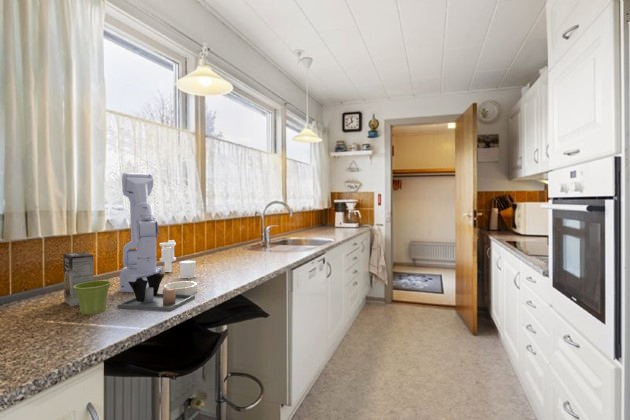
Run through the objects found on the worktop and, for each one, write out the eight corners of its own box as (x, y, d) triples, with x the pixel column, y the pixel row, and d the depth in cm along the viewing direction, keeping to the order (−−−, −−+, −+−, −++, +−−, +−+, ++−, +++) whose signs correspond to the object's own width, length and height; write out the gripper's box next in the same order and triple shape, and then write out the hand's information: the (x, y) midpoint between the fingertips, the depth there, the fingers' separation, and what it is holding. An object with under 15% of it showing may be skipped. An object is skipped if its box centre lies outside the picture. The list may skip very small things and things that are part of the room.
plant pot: (83, 320, 95) (82, 289, 95) (68, 314, 100) (67, 285, 100) (117, 311, 103) (117, 282, 103) (101, 305, 108) (101, 279, 108)
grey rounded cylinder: (137, 303, 109) (137, 289, 109) (145, 299, 113) (145, 286, 112) (148, 304, 108) (148, 290, 108) (156, 300, 112) (155, 287, 112)
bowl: (157, 296, 118) (157, 287, 118) (175, 288, 129) (175, 280, 129) (186, 298, 116) (186, 289, 116) (202, 290, 127) (202, 281, 127)
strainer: (179, 271, 161) (179, 240, 161) (167, 274, 155) (167, 241, 155) (168, 270, 164) (168, 239, 164) (156, 272, 158) (156, 241, 158)
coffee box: (63, 301, 112) (62, 253, 112) (85, 297, 117) (85, 251, 116) (71, 307, 106) (70, 256, 106) (94, 303, 111) (93, 254, 110)
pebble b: (160, 304, 107) (160, 290, 107) (167, 301, 111) (167, 287, 111) (171, 305, 107) (171, 291, 107) (177, 301, 111) (177, 288, 110)
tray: (117, 309, 104) (117, 304, 104) (147, 296, 118) (147, 292, 118) (170, 312, 101) (170, 307, 101) (194, 299, 115) (194, 295, 115)
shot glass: (190, 279, 145) (190, 263, 145) (176, 278, 147) (176, 262, 146) (199, 275, 152) (198, 260, 152) (185, 275, 153) (185, 259, 153)
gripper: (142, 261, 102) (143, 305, 103) (171, 254, 116) (171, 293, 117) (122, 260, 103) (122, 304, 104) (152, 253, 118) (153, 292, 118)
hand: (147, 298), depth 110 cm, fingers open, 6 cm apart
